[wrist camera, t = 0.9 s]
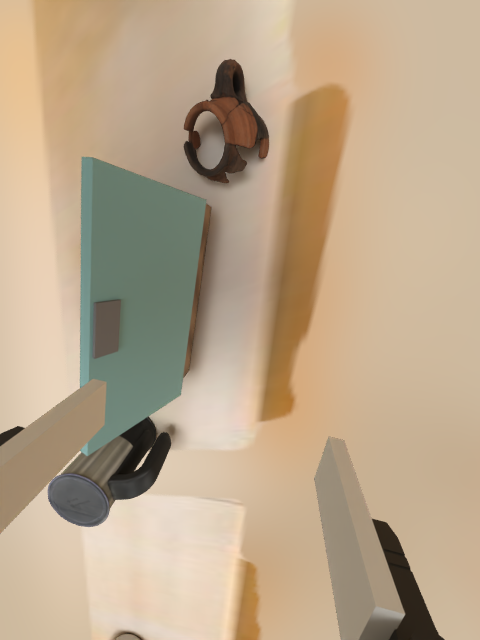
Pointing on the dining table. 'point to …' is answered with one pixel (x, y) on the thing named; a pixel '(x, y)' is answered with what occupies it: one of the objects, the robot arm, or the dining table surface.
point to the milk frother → (109, 475)
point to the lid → (135, 291)
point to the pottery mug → (227, 123)
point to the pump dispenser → (127, 637)
